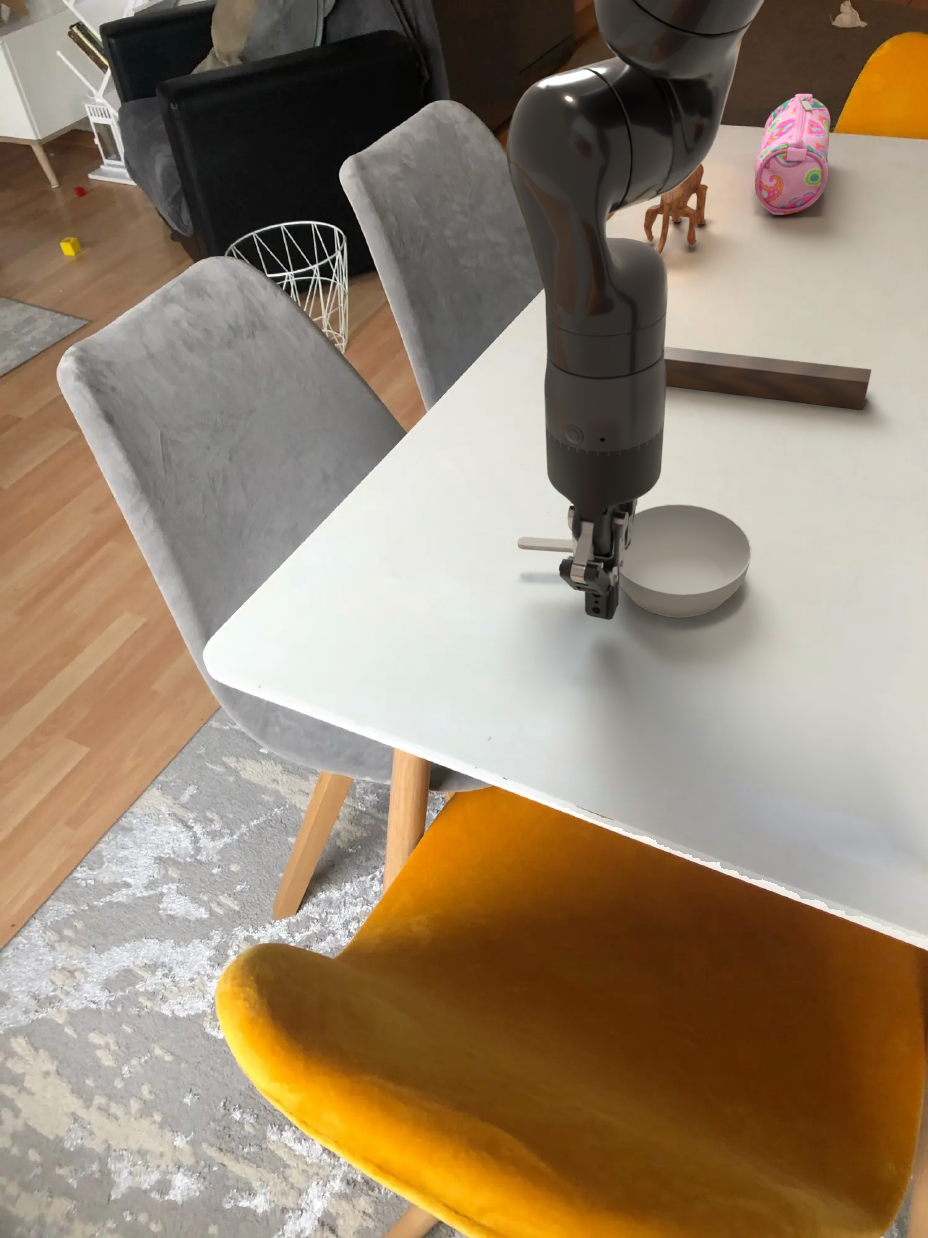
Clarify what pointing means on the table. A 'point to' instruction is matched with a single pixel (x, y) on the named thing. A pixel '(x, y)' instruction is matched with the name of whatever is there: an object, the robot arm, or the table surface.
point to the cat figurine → (679, 208)
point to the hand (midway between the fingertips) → (601, 611)
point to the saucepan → (676, 559)
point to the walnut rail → (767, 377)
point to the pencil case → (793, 156)
